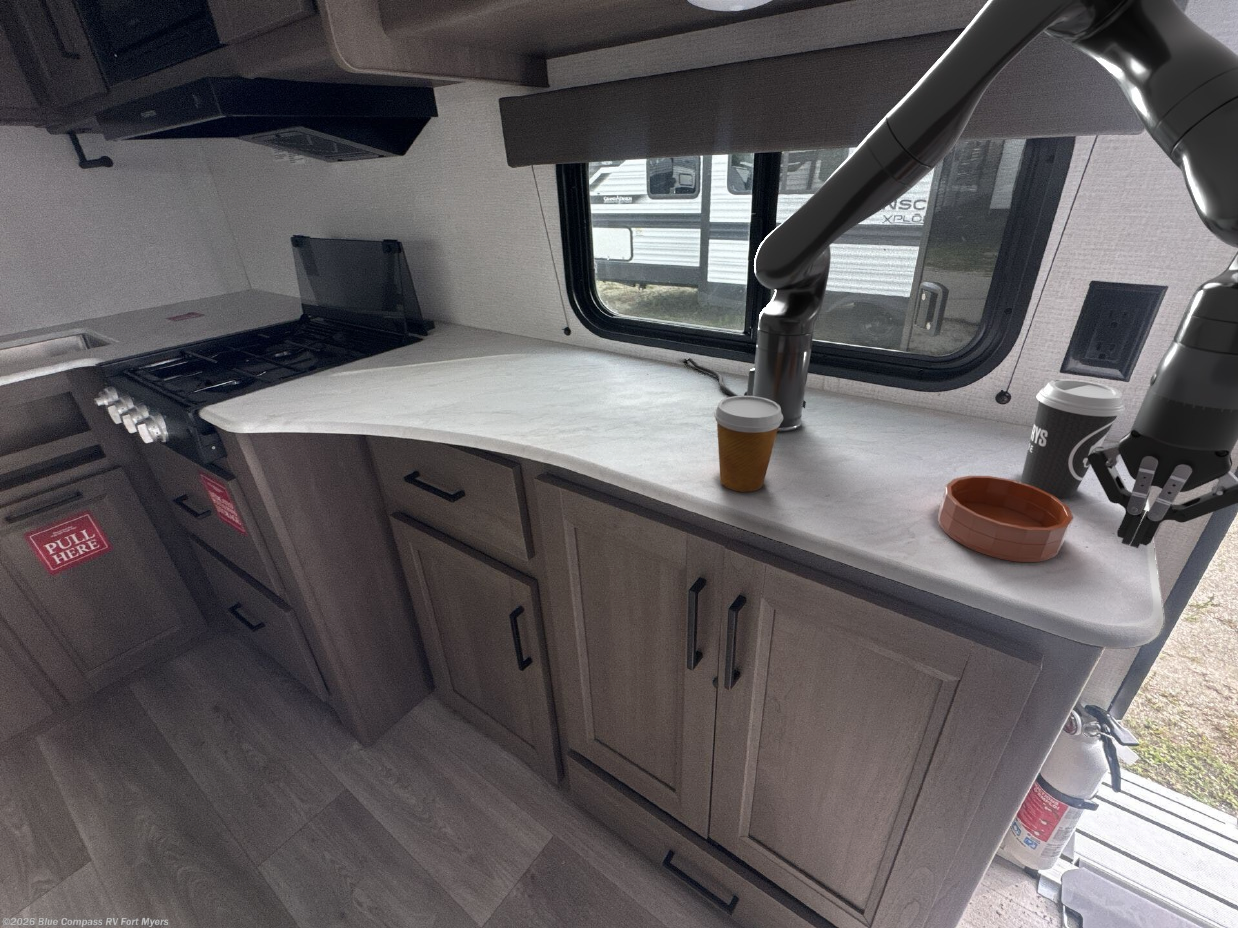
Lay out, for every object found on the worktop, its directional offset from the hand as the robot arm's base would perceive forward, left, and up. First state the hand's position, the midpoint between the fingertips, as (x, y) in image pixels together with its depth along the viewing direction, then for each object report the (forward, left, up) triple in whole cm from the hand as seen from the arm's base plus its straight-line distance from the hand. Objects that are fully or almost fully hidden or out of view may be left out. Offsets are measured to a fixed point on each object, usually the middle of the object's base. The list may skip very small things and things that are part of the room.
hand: (1130, 542), depth 62 cm
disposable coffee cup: (-42, -13, -5) cm, 44 cm away
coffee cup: (-11, +18, -5) cm, 22 cm away
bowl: (-12, 0, -4) cm, 13 cm away
